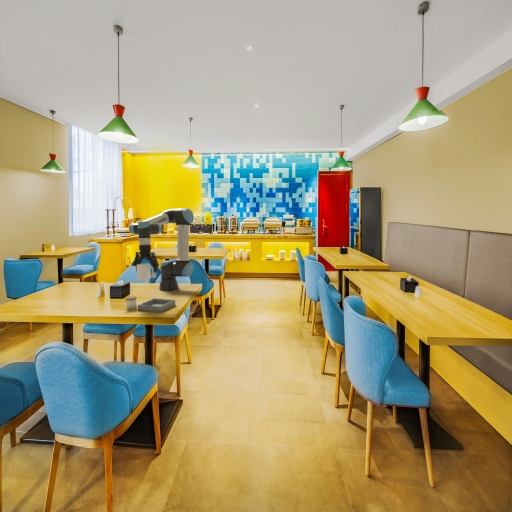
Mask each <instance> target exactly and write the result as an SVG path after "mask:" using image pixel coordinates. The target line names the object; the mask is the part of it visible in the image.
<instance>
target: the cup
mask: <svg viewBox="0 0 512 512" xmlns="http://www.w3.org/2000/svg"><path fill="white" fill-rule="evenodd" d="M152 268H153V266H152V265H151V263H141V264H138V265H137V271H136V277H137V280H138V281H141V282H143V281H149V280H151V278H153V277H152V274H151V269H152Z"/></svg>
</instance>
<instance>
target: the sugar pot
mask: <svg viewBox="0 0 512 512" xmlns="http://www.w3.org/2000/svg"><path fill="white" fill-rule="evenodd" d="M125 302H126V310H135V309H138V305H137V296H133V295H132V296H127V297H125Z"/></svg>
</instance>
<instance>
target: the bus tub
mask: <svg viewBox="0 0 512 512" xmlns="http://www.w3.org/2000/svg"><path fill="white" fill-rule="evenodd" d="M175 306H176V299H167V298H158V297H157V298H151V299H149V300H146V301H144V302H142V303H139V304H137V310H138V311H140V312H141V311H144V312H150V313H151V312H152V313H153V312H154V313H162V312H165V311H166V310H168V309H170V308H172V307H175Z"/></svg>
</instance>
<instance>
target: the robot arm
mask: <svg viewBox="0 0 512 512" xmlns="http://www.w3.org/2000/svg"><path fill="white" fill-rule="evenodd" d="M194 220H195V218H194V212H193V211H192V210H191V209H190V208H185V207H184V208H170V209H167V210H164V211H162V212H160V213H158V215H156V216H153V217H150V218H147V219H146V220H139V221H138V222H137V223H135V222H134V223H131V224H130V225H128V232H129V233H130V235H135V236H137V235H138V250H139V251H135V255H134V256H135V257H134V260H133V262H132V264H133V265H132V266H134V267H135V272H137V265H138V264H142V262H143V260H146V259H147V260H148V262H149V264H150V266H151V267H153V268H151V270H152V271H151V275H152V277H151V278H152V279H153V278H156V277H157V271H158V270H157V268H158V267H160V283H159V289H158V290H160V291H166V292H167V291H174V290H175V291H176V290H177V289H179V287H180V286H179V284H178V281H177V277H179V278H180V277H182V278H188V277H189V278H190V276H191V275H192V274H193V272H194V264H193V263H192V262H191V259H190V258H189V251H190V250H189V248H190V247H189V246H190V245H189V244H190V243H189V242H190V240H189V239H190V238H189V237H190V236H189V235H190V231H189V230H190V227H191V224H192V223H193V222H194ZM167 224H168V225H169V224H175V227H176V228H177V258H176V259H170V260H169V259H168V260H164V261H161V262H160V264H159V261H158V259H157V256H156V252H155V251H152V244H151V243H152V241H151V240H152V239H151V236H153V235H160V234H161V233H162V231H163V227H162V225H167Z"/></svg>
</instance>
